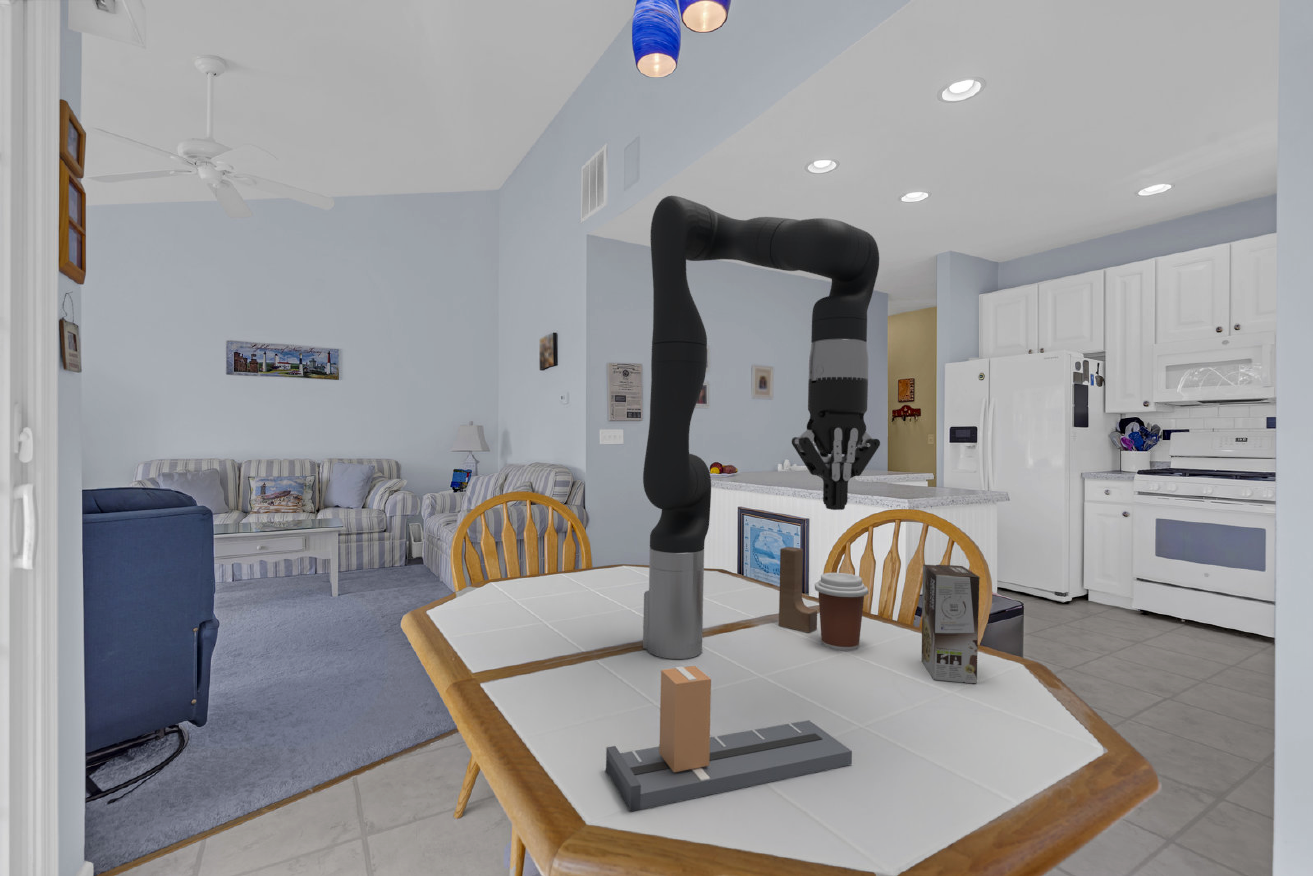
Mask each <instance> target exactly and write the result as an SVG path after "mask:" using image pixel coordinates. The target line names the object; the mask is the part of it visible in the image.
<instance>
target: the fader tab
mask: <svg viewBox="0 0 1313 876" xmlns="http://www.w3.org/2000/svg"><path fill="white" fill-rule="evenodd" d="M711 697H712V678H710V677H709V676H708V675H707V674H706V673H704V672H703V671H702V670H701V669H699V668H698V667H697V666H696V665H692V666H676V667H674V668H666V669H665V668H664V669H661V670H660V698H659V699H660V703H659V704H660V705H659V707H660V708H659V709H660V710H659V712H660V713H659V745H658V747H659V754H660V755H661V756H662V758H663V759H664V760H665V761H666V763H667V764H668V765H669V767H670V768H671V769H672V770H673V772H678V771H683V770H689V769H694V768H699V767H704V766H709V755H710V737H711V707H712V706H711V703H712V700H711V699H712V698H711Z"/></svg>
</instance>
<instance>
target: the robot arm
mask: <svg viewBox="0 0 1313 876" xmlns="http://www.w3.org/2000/svg"><path fill="white" fill-rule="evenodd" d="M650 254H651V269H652V270H651V271H652V282H653V283H652V286H653V288H652V289H653V291H652V292H653V296H652V297H653V303H652V305H653V307H652V308H653V311H652V312H653V313H652V315H653V316H652V317H653V319H652V336H651V337H652V339H651V340H652V341H651V360H650V361H651V362H650V363H651V364H650V366H651V367H650V368H651V370H650V371H651V372H650V373H651V374H650V375H651V377H650V378H651V379H650V380H651V383H650V402H649V403H650V404H649V426H648V434H647V441H646V449H645V457H644V463H643V471H642V472H643V475H642V484H643V485H642V486H643V489H644V492H645V495H646V497H647V499H648V500H649V501H648V502H650V503H651V504H652V505H653V506H654V507H656V508H657V509H659V510H661V514H660V517H659V520H658V522H657V523H656V525H655V526H654V527H653V528H652V530H651V532H650V535H649V564H648V565H649V567H648V569H649V570H648V572H649V574H648V575H649V576H648V590H645V591H644V593H643V619H642V620H643V621H642V622H643V623H642V624H643V625H642V629H643V631H642V649H646V650H647V651H648V652H649V653H650V654H651V655H653V656H655V657H656V656H657V657H658V658H659V657H660V658H663V659H664V658H665V659H676V660H678V659H679V660H681V659H690V658H694V657H697V656H699V655H700V654H702V652H703V627H704V622H703V621H704V583H705V582H704V579H705V578H704V577H705V575H704V574H705V541H706V537H707V534H708V531H709V528H710V519H711V517H710V515H711V502H712V500H711V499H712V477H711V472H710V470H709V467H708V465H707V463H706V462H705V461H704V460H703V459H702V458H701V457H700V456H698V455H695V454H693V453H690V428H691V423H692V422H691V421H692V417H693V414H694V411H695V409H696V405H697V403H698V401H699V398H700V395H701V393H702V389H703V386H704V384H705V380H706V374H707V360H708V359H707V355H708V350H707V349H708V347H707V346H708V338H707V337H708V336H707V331H706V328H705V325H704V322H703V319H702V317H701V315H700V312H699V310H698V307H697V305H696V303H695V301H694V298H693V296H692V293H691V290H690V288H689V282H688V277H687V276H688V275H687V261H689V262H690V261H691V262H700V261H703V262H704V261H718V260H733V261H734V260H735V261H740V262H744V263H748V264H751V265H755V266H760V267H763V268H764V267H765V268H770V269H773V270H774V269H775V270H780V271H785V272H787V271H788V272H797V271H801V272H806V273H809V274H813V275H817V276H821V277H823V278H824V277H825V278H827V279H830V280H831V285H830V290H829V295H828V296H825V297H822V298H819V299H818V300H817V301H816V302H815V303H814V305H813V307H812V313H811V314H812V315H811V335H810V337H811V340H810V342H811V345H810V351H809V359H808V383H807V384H808V387H807V388H808V389H807V390H808V391H807V410H808V412H809V419H808V421H807V424H806V430H805V431H804V432H803V433H802V434H800V435H799V436H797V437H796V436H795V437H792V439H791V444H792V446H793V448H794V450H795V451H796V453H797V455H798V456H799V458H800V459H801V460H802V462H803V463H804V465H805V468H807V470H808V472H809V474H811V475H812V476H817V477H819V478H820V479H822V483H823V484H822V486H823V489H822V490H823V491H822V492H823V493H822V494H823V495H822V496H823V497H822V502H823V504H824V505H825V508H826V509H827V510H832V511H842V510H845V509H846V506H847V504H848V496H849V495H848V493H849V488H848V487H849V481H850V479H852V478H854V477H859V476H861V475H862V474H863V471H865V469H866V467H867V466H868V464H869V463H870V462H871V460H872V458H873V457H874V455H875V454H876V453H877V451H878V449H879V448H880V445H881V441H880V439H878V438H872V437H871V435H869V434H868V433H867V424H866V422H865V419H864V418H865V414H866V413H867V411H868V398H869V397H868V396H869V395H868V393H869V391H868V390H869V354H868V343H867V340H868V339H867V338H868V309H869V306H870V304H871V303H870V302H871V300H872V296H873V293H874V288H875V285H876V281H877V278H878V274H879V273H878V272H879V269H880V268H879V267H880V252H879V246H878V243H877V241H876V240H875V238H874V237H873V235H872V234H870V233H869V232H868V231H866V230H864V229H861V228H859V227H856V226H854V225H851V224H849V223H846V222H844V221H841V220H837V219H831V218H825V217H823V218H822V217H820V218H819V217H818V218H815V217H814V218H808V219H806V218H805V219H801V220H800V219H793V218H785V217H776V216H759V217H753V218H750V219H745V220H744V219H738V218H737V219H736V218H733V217H730V216H727V215H725V214H722V213H719V212H717V211H715V210H712V209H711V208H709V207H708V206H707V205H704V204H701V203H698V202H697V201H696V202H695V201H692V200H691V199H686V198H684V197H681V196H677V195H667V196H665V197H663V198H661V200H660V201H659V202H658V204H657V205H656V207H655V209H654V211H653V215H652V219H651V225H650ZM815 446H816V447H815ZM842 455H843V456H842Z"/></svg>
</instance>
